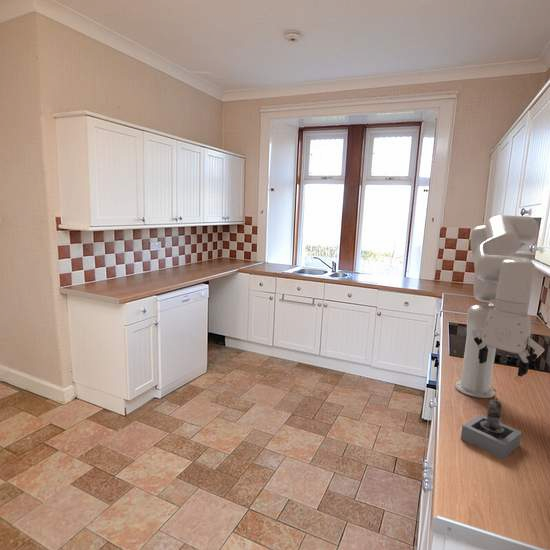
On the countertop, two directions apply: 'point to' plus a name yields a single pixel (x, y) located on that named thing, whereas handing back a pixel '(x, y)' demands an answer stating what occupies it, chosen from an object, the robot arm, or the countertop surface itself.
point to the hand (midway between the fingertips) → (501, 368)
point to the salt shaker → (493, 420)
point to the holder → (491, 438)
